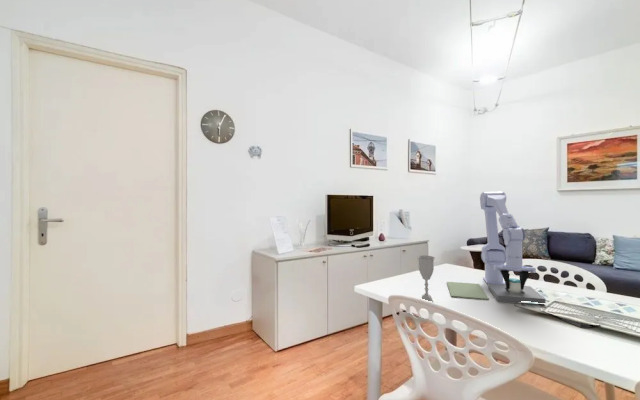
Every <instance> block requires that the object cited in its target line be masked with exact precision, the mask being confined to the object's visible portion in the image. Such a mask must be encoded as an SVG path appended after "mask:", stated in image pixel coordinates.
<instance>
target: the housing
mask: <svg viewBox="0 0 640 400" xmlns="http://www.w3.org/2000/svg"><path fill="white" fill-rule="evenodd" d="M488 290H489V292H490V293H491V294H492V296H493V297H494V298H495V300H496V301H497V303H498V302H499V303H511V304H512V303H513V304H519V303H518V302H521V301H531V302H538V303H546V298H545V297H544V296H543V295H542V294H540V293H539V292H538V291H537V290H535V288H533V287H532V286H530V285H524V289H523V290H521V293H510V292H508V289H507V288H506V285H505V284H489V283H488Z"/></svg>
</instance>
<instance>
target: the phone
mask: <svg viewBox="0 0 640 400" xmlns="http://www.w3.org/2000/svg"><path fill="white" fill-rule="evenodd" d="M561 320H562V321H564V322H567V323H568V324H572V325H574V326H576V327H579V328H583V329H585V328H593V327H592V326H590V325H587V324H583V323H578V322H574V321H571V320H567V319H561Z"/></svg>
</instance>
